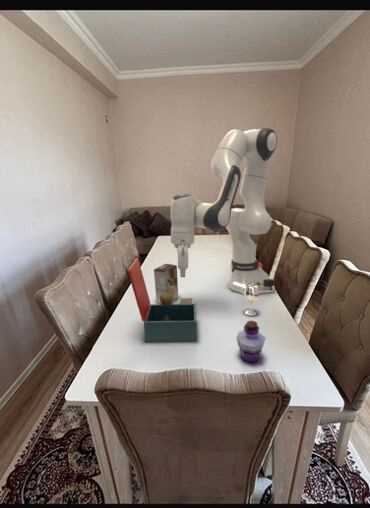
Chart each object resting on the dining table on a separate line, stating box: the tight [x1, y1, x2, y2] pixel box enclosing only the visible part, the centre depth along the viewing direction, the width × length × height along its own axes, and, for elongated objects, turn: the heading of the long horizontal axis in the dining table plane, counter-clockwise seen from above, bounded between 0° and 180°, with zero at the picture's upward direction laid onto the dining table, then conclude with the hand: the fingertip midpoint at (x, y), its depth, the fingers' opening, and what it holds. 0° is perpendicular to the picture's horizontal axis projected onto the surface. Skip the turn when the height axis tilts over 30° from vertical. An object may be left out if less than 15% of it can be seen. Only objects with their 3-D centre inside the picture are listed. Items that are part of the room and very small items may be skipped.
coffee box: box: [153, 263, 179, 304], centre depth 113 cm, size 9×6×16 cm
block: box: [179, 297, 193, 304], centre depth 104 cm, size 5×5×5 cm
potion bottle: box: [236, 320, 267, 364], centre depth 75 cm, size 9×9×12 cm
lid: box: [127, 257, 151, 322], centre depth 86 cm, size 18×13×1 cm
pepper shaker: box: [160, 292, 174, 321], centre depth 97 cm, size 6×6×11 cm
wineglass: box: [243, 283, 260, 317], centre depth 100 cm, size 6×6×12 cm
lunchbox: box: [143, 303, 198, 343], centre depth 90 cm, size 18×13×8 cm
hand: (182, 272), depth 98 cm, fingers open, 8 cm apart
